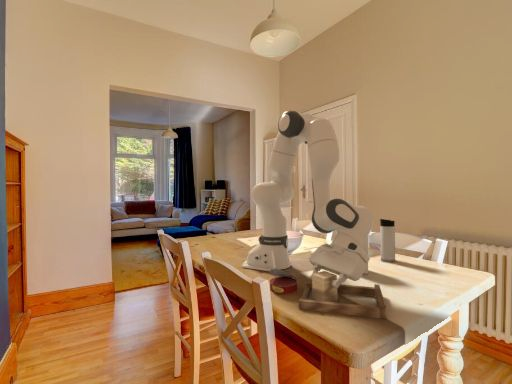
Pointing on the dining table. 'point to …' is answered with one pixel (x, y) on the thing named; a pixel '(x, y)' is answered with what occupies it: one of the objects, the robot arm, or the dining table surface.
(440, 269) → the dining table surface
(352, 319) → the dining table surface
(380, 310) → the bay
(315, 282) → the tan wooden block
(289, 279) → the canned food
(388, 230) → the travel mug
